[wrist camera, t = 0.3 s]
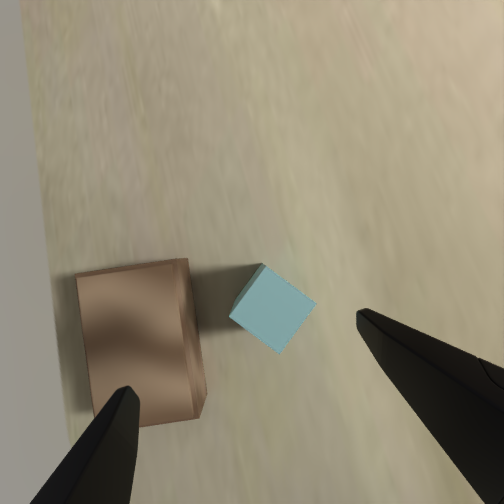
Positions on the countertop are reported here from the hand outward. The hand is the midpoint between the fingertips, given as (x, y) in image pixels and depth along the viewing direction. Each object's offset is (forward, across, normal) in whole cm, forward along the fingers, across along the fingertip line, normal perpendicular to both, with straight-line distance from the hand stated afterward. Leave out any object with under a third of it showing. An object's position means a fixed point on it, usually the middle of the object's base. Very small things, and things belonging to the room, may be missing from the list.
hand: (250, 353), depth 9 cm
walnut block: (+13, +10, +8) cm, 18 cm away
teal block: (+13, -3, +8) cm, 15 cm away
